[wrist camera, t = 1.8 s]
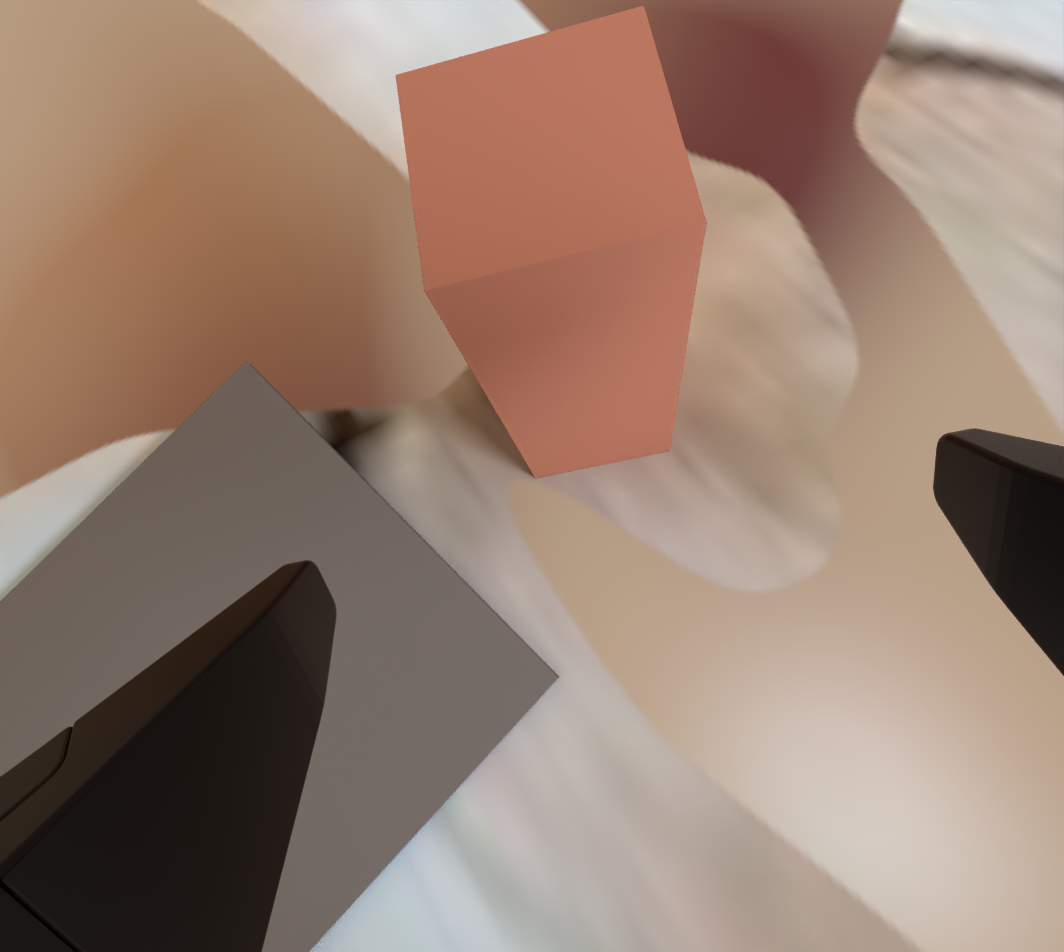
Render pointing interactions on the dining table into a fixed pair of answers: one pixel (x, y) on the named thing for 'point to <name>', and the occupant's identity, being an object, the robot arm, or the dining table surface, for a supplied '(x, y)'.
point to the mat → (230, 572)
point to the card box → (560, 234)
